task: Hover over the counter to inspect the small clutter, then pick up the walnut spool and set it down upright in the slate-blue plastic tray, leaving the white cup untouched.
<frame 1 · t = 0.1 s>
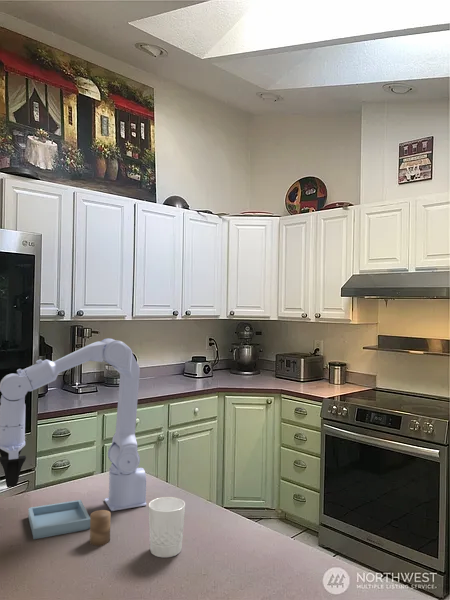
hand: (10, 480, 117), 10 cm above the countertop, fingers open, 7 cm apart
slate tray: (58, 522, 118), on the countertop
walnut spool: (99, 540, 109), on the countertop
white cup: (165, 551, 106), on the countertop
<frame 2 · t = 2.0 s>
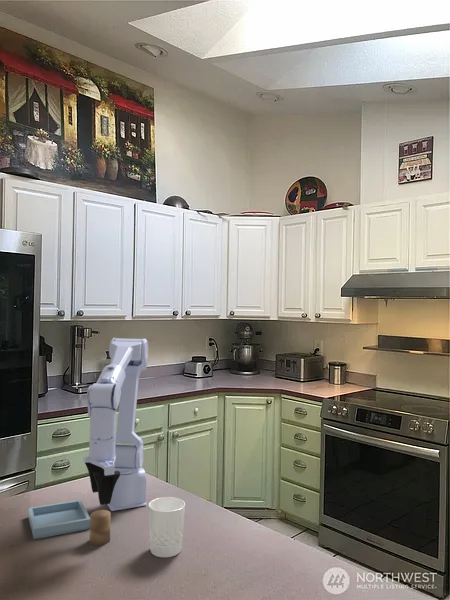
hand: (101, 497, 110), 10 cm above the countertop, fingers open, 7 cm apart
nothing on the countertop moved.
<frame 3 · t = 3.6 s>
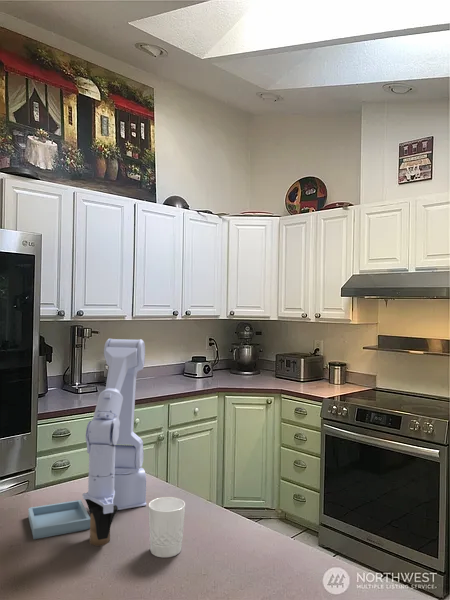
hand: (100, 533, 109), 2 cm above the countertop, fingers closed on walnut spool, 4 cm apart
walnut spool: (99, 540, 109), on the countertop, touching gripper
everything else where it was.
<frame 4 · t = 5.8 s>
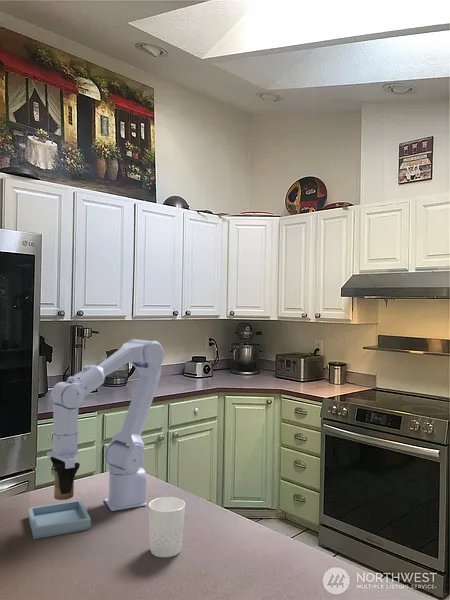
hand: (63, 489, 117), 8 cm above the countertop, fingers closed on walnut spool, 4 cm apart
walnut spool: (63, 496, 117), point 7 cm above the countertop, touching gripper
everything else where it was.
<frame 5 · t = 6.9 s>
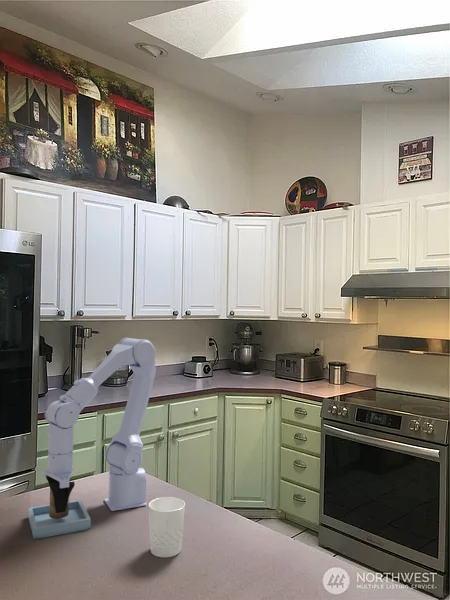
hand: (59, 507, 118), 4 cm above the countertop, fingers closed on walnut spool, 4 cm apart
walnut spool: (58, 514, 118), point 2 cm above the countertop, touching gripper
everything else where it was.
when the fingers open (4 cm above the countertop, at t = 7.7 s): walnut spool drops 1 cm, resting on slate tray.
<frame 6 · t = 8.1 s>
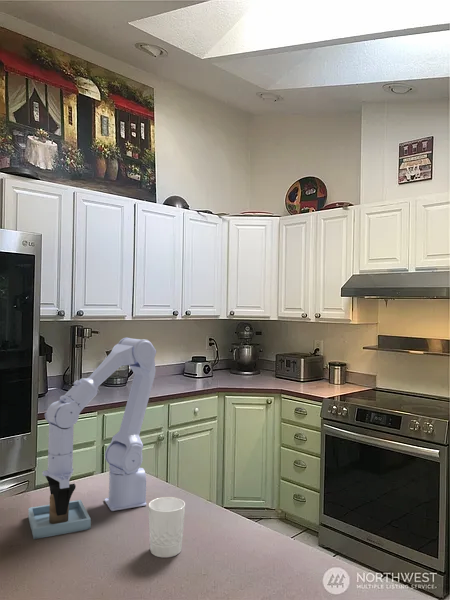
hand: (59, 508, 118), 4 cm above the countertop, fingers open, 7 cm apart
walnut spool: (58, 520, 118), point 1 cm above the countertop, touching slate tray
everything else where it was.
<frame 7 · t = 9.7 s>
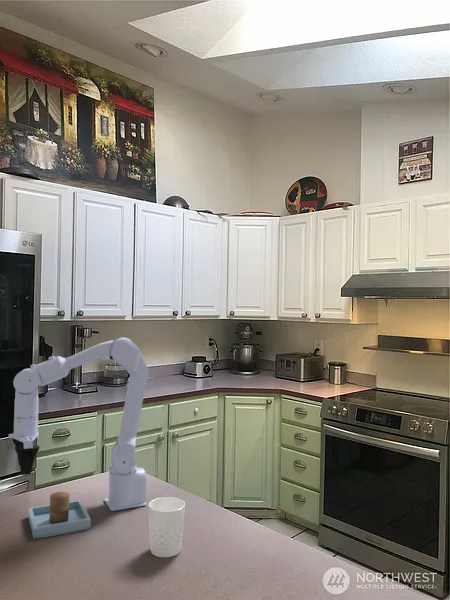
hand: (24, 469, 125), 10 cm above the countertop, fingers open, 7 cm apart
nothing on the countertop moved.
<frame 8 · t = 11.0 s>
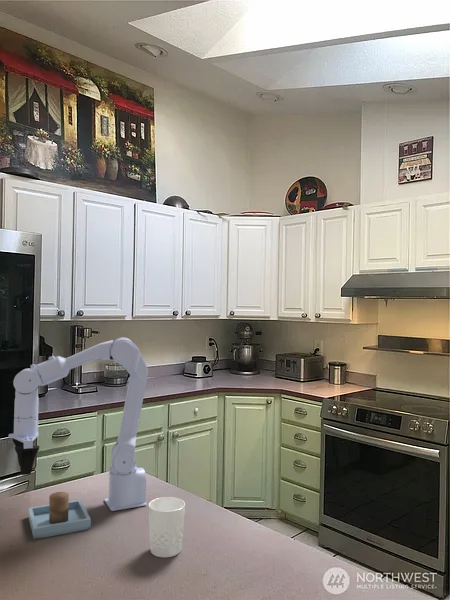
hand: (24, 469, 125), 10 cm above the countertop, fingers open, 7 cm apart
nothing on the countertop moved.
at the end: walnut spool inside the target area on the slate tray (0.0 cm from its centre), point 0.6 cm above the slate tray's base; walnut spool tilted 1°; the gripper is holding nothing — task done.
